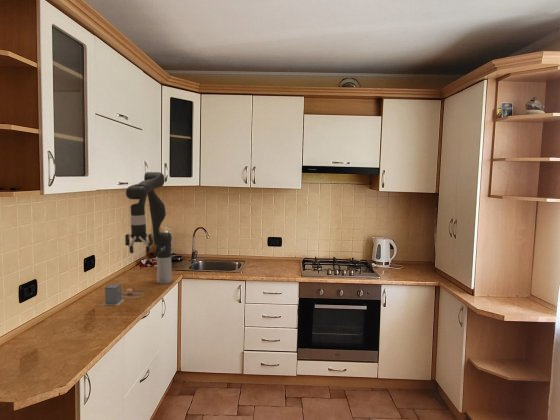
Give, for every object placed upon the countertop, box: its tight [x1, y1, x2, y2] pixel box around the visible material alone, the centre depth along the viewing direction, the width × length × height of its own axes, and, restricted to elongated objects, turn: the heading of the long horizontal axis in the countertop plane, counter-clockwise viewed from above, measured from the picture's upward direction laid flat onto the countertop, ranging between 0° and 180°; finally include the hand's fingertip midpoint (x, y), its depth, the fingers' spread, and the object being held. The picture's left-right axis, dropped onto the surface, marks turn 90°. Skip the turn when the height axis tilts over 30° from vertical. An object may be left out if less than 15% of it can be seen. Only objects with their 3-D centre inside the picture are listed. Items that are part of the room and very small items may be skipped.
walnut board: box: [121, 290, 146, 300], centre depth 222 cm, size 14×14×1 cm
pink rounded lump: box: [126, 288, 134, 296], centre depth 222 cm, size 3×3×3 cm
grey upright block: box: [104, 284, 122, 304], centre depth 209 cm, size 6×6×9 cm
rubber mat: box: [102, 299, 126, 306], centre depth 209 cm, size 9×9×1 cm
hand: (139, 253), depth 205 cm, fingers open, 8 cm apart
